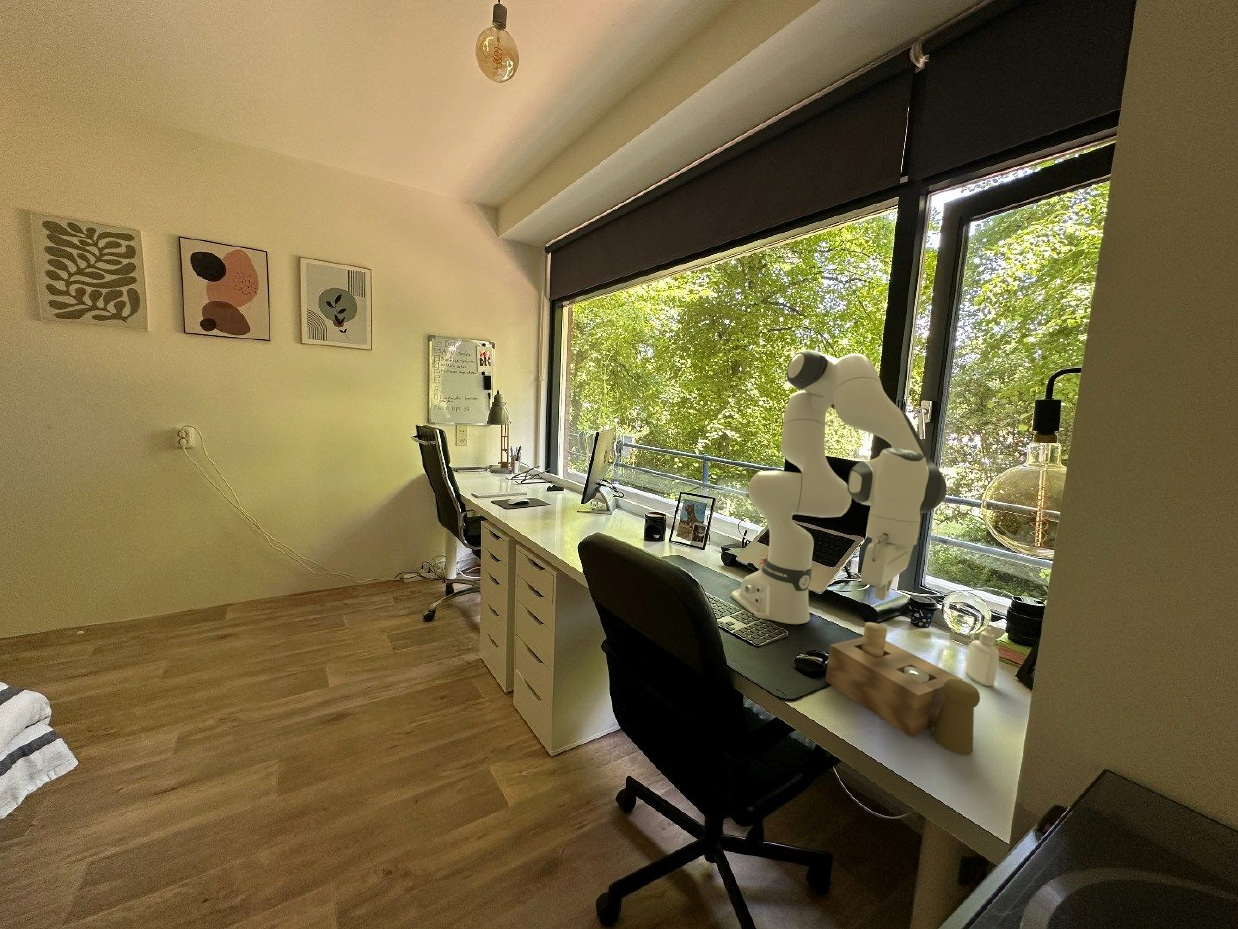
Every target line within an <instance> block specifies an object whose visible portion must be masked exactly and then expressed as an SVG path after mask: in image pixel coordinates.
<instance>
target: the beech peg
mask: <svg viewBox="0 0 1238 929" xmlns="http://www.w3.org/2000/svg"><path fill="white" fill-rule="evenodd" d="M887 628H888V627H885V626H884V625H882V624H880V623H876V622H872V621H871V622H870V621H868V622H865V623H864V629H863V635H862V637H863V640H862V647H861V650H862V651H863V652H865V653H867V654H869V655H871V656H873V657H874V658H879V657H883V653H884V647H885V640H886V638H887V634H888V629H887ZM886 641H887V640H886Z"/></svg>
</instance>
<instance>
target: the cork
mask: <svg viewBox="0 0 1238 929" xmlns="http://www.w3.org/2000/svg"><path fill="white" fill-rule="evenodd" d="M943 694H944V696H945V699H944V701H943V704H942V707H941V709H940V712H939V715H938V717H937V720H936V723H935V725H934V728H932V731H931V738H932V740H933V741H934V742H935V743H936V744H937V745H938V746H941V747H942V748H943V749H945V750H947V751H949V752H952V753H954V754H958V755H961V756H968V755H972V754H973V752H974V721H975V720H974V719H975V718H974V717H975V716H974V715H975V714H974V713H975V708H976V707H978V705H979V703H980V700H981V695H980V692H979V689H977V688H976V687H975V686H974V685H973V684H971V683H969V682H967V681H964V680H963V681H962V680H959V679H948V680H947V681H946V682H945V683H944V685H943Z"/></svg>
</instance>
